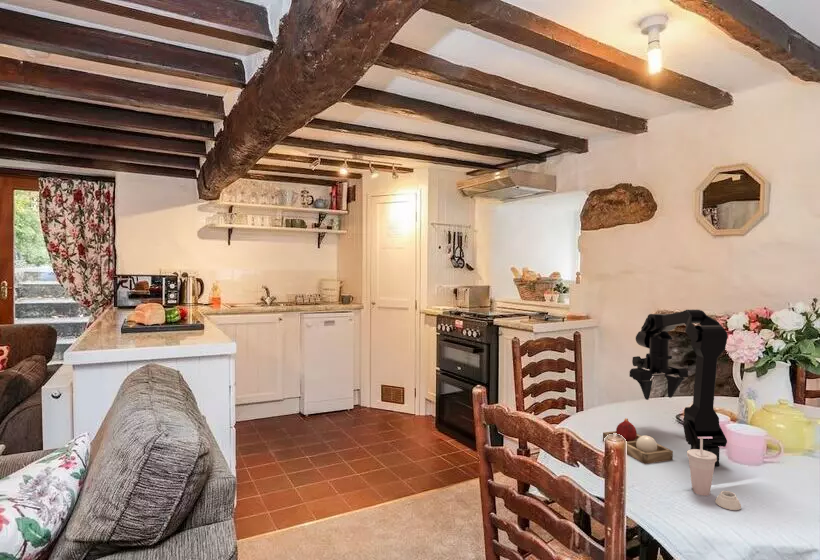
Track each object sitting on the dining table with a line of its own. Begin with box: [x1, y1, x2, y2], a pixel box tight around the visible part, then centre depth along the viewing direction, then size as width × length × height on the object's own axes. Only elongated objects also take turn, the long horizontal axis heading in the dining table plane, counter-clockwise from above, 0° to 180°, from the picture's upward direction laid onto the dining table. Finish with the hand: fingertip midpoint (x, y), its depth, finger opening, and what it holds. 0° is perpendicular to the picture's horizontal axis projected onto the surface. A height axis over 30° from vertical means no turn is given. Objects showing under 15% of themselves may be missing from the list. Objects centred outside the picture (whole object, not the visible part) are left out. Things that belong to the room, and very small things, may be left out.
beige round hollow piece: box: [715, 490, 742, 511], centre depth 113 cm, size 5×3×5 cm
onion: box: [615, 418, 638, 442], centre depth 149 cm, size 6×6×8 cm
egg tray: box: [602, 430, 674, 464], centre depth 145 cm, size 18×10×4 cm, turn 15°
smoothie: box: [686, 437, 717, 497], centre depth 120 cm, size 6×6×14 cm
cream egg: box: [636, 435, 658, 453], centre depth 140 cm, size 6×6×6 cm
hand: (658, 398), depth 159 cm, fingers open, 9 cm apart
